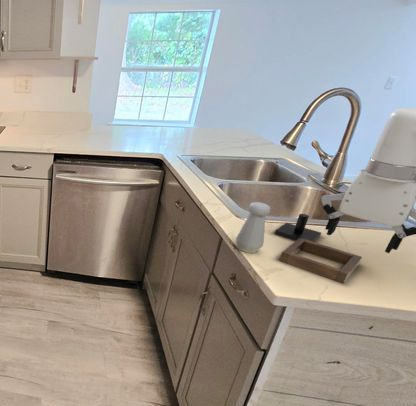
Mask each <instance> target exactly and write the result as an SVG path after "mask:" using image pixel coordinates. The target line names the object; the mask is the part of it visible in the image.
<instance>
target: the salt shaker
mask: <svg viewBox="0 0 416 406" xmlns="http://www.w3.org/2000/svg"><path fill="white" fill-rule="evenodd" d="M248 212H249V214H248V216H247V218H246V219H245V222H244V223H243V224H242V227H241V229H240V231H239V233H238V234H237V236H236V238H235V242H236V244H237V247H238V250H240V251H241V252H244V253H246V254H255V253H256V252H257V251H259V250H260V249H261V248H263V246H264V242H265V227H266V216H268V215H269V214H270V212H271V206H270V205H268V204H267V203H264V202H259V201H256V202H255V201H253V202H251V203H250V204H249V206H248Z"/></svg>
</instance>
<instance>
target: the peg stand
mask: <svg viewBox="0 0 416 406" xmlns="http://www.w3.org/2000/svg"><path fill="white" fill-rule="evenodd" d="M309 217H310V215H308V214H305V213H299V214H298V218H297V219H296V220H297V221H296V223H295V224H293V223H290V222H285V223H283V224H282V225H281V226H280V227H278V228H277V229H276V230H274V235H276V236H279V237H283V238H286V239H289V240H292V241H294V242H295V241H296V240H298V239H299V238H302V239H306V240H309V241H312V242H316V241H317V240H318V239H320V237H321V235H322V232H320V231H317V230H314V229H311V228H307V227H306V226H307V223H308V221H309Z"/></svg>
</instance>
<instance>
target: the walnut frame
mask: <svg viewBox="0 0 416 406" xmlns="http://www.w3.org/2000/svg"><path fill="white" fill-rule="evenodd" d="M300 251H304V252H308V253H311V254H314V255H316V256H320V257H323V258H326V259H330V260H333V261H335V262H339V263H341V264H344V265H343V267H341V269H340V268H339V267H335V266H332V265H329V264H326V263H324V262H320V261H318V260H315V259H311V258H308V257H306V256H302V255H300V254H298V253H299V252H300ZM362 259H363V256H361V255H358V254H354V253H351V252H348V251H344V250H341V249H338V248H336V247H332V246H329V245H326V244H321V243H318V242H316V241H314V242H312V241H309V240H306V239H302V238H299V239H298V240H296V241H295V240H294V241H293V242H292V243H291V244H290V245H289V246H288V247H286V248H285V249H284V250H283V251H282V252H281V254H280V256H279V261H280V262H282V263H285V264H288V265H290V266H294V267H297V268H299V269H302V270H305V271H307V272H310V273H314V274H316V275H319V276H320V277H324V278H326V279H330V280H332V281H334V282H338V283H341V284H344V283H345V282H346V281H347V279H348V278H349V277H351V275H352V274H353V273H354V272H355V270H356V269H357V268H358V267H359V265H360V263H361V261H362Z"/></svg>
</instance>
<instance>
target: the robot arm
mask: <svg viewBox="0 0 416 406" xmlns="http://www.w3.org/2000/svg"><path fill="white" fill-rule="evenodd" d="M320 200H321V204H322V208H323V210H324V212H325V213H326V214H327V216H328V218H329V219H328V221H327V223H326V225H325V228H324V229H325V230H327V232H326V235H327V236H332V235H333V234H334V233H335V231H336V229H337V227H338V225H339V222H340V220H341V217H342V216H345V215H346V216H350V217H352V218H357V219H360V220H364V221H368V222H373V223H375V224H380V225H384V226H388V227H391V228H392V230H393V231H394V233H393V235H392V236H391V238H390V239H389V242H388V243H387V246H386V247H385V250H384V253H387V254H390V253H391V251H392V250H395V251H397V250H398V248H399V247H400V246H401V243H402V241H403V240H404V239H405V238H407V237H410V236H414V235H416V225H414V226H411V227H407V226H406V224H405V222H406V221H408V219H409V217H410V218H412V219H413V220H415V221H416V208H414V206H415V204H416V107H400V108H397V109H395V110H392V112H390V114H389V116H388V117H387V119H386V121H385V124H384V126H383V129H382V131H381V133H380V135H379V137H378V140H377V142H376V144H375V146H374V149H373V151H372V154H371V155H370V158H369V160H368V162H367V165H366V167H365V169H360V170H359V172H358V173H357V174H356V176H355V177H354V179H353V180H352V182H351V183H350V185H349V187H348V189H347V190H346V192H342V193H333V194H324V195H322V196H321V197H320ZM332 201H333V202H334V201H341V202H340V204H339V208H337V209H336V208H335V207H334V206H333V205H332Z"/></svg>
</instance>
